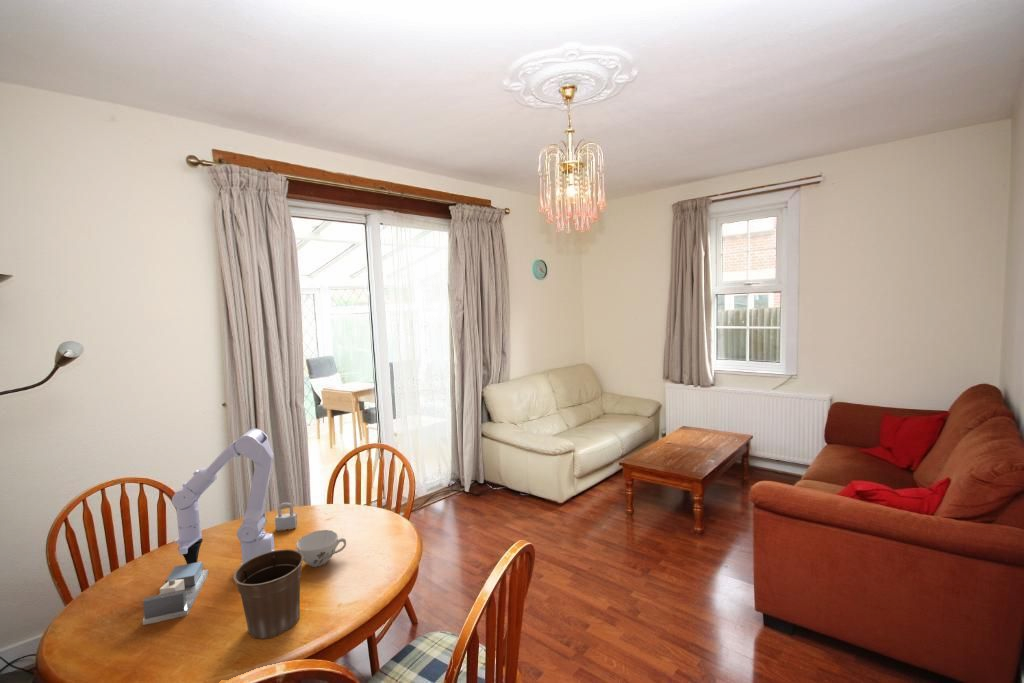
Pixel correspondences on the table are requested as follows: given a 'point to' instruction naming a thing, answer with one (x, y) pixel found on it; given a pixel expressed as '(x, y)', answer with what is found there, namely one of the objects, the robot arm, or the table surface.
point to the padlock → (285, 518)
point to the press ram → (186, 573)
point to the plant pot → (270, 591)
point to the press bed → (189, 600)
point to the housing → (172, 586)
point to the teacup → (319, 547)
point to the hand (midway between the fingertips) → (192, 564)
